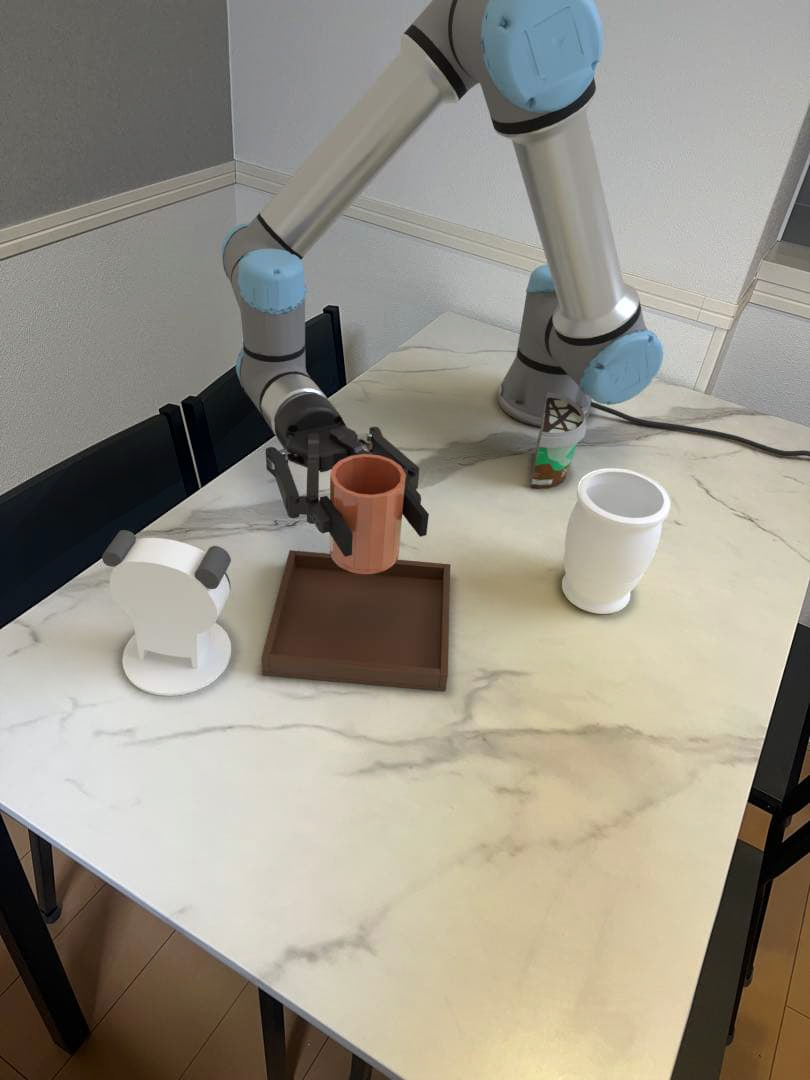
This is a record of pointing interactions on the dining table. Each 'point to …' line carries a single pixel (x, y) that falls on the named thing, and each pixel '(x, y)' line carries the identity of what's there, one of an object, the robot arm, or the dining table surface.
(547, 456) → the food container
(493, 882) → the dining table surface
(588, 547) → the jar
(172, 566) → the panda figurine
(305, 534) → the dining table surface
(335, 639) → the tray
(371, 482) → the cup
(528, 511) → the dining table surface
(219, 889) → the dining table surface
